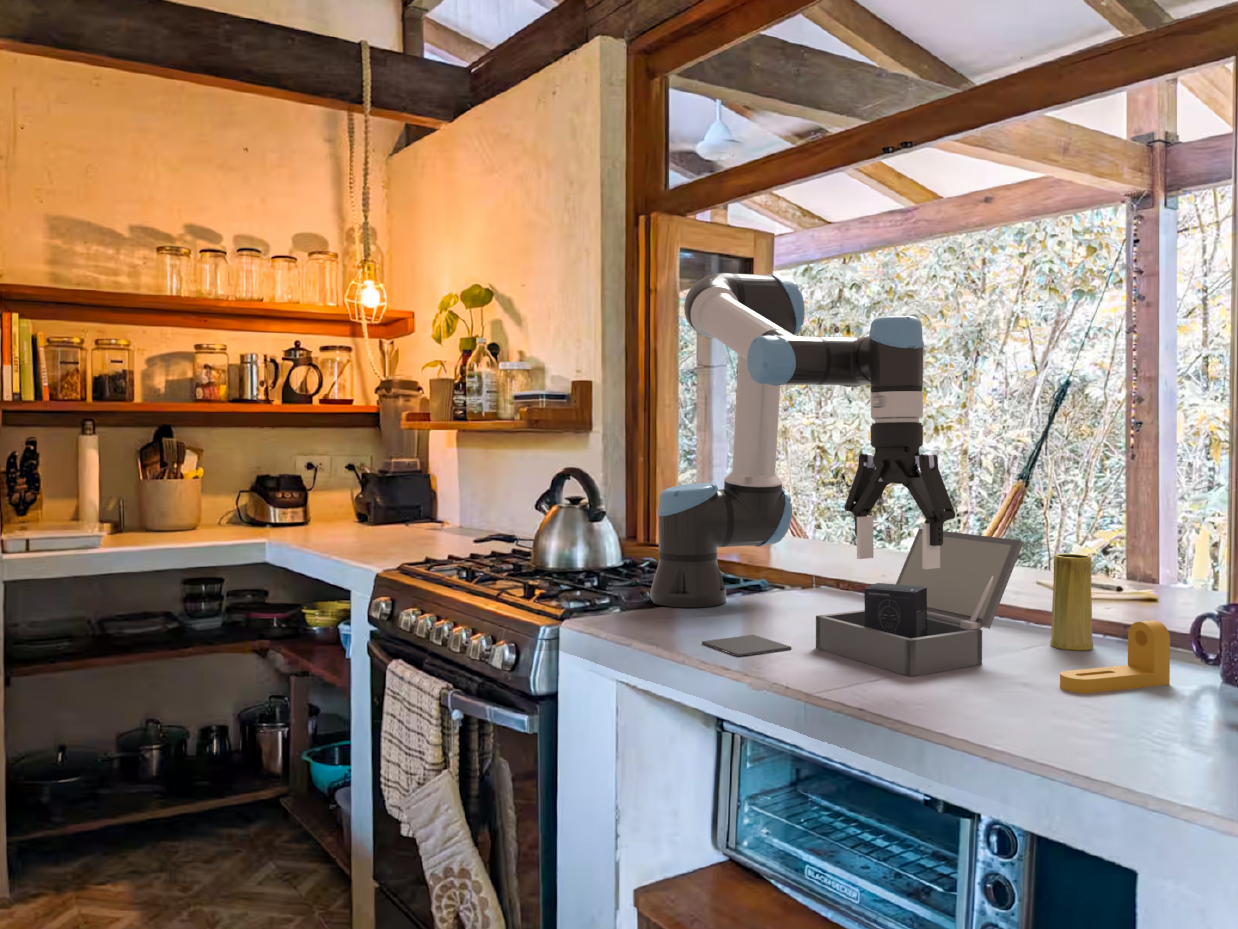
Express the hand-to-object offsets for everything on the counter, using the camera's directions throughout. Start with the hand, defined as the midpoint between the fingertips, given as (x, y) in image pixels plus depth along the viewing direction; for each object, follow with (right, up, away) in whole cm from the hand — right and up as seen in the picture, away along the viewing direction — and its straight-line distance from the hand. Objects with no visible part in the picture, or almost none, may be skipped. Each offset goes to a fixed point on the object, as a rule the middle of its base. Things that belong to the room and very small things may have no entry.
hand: (896, 563), depth 142 cm
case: (+4, -14, +3) cm, 15 cm away
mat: (-22, -14, +7) cm, 27 cm away
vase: (+29, -14, +6) cm, 33 cm away
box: (0, -14, +1) cm, 14 cm away
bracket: (+24, -15, -16) cm, 32 cm away
